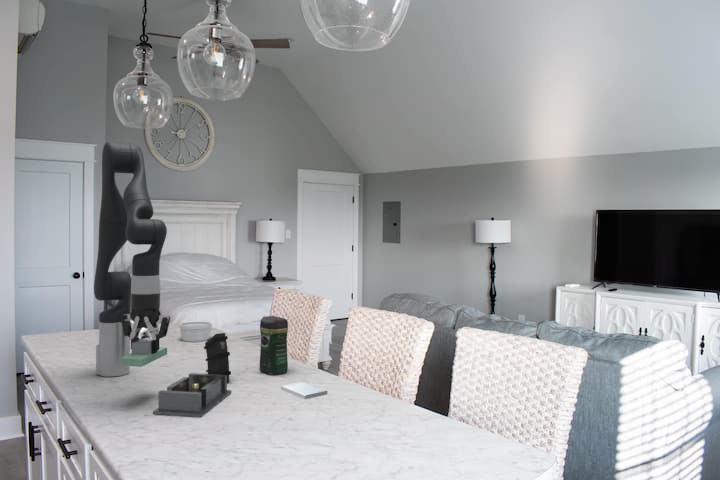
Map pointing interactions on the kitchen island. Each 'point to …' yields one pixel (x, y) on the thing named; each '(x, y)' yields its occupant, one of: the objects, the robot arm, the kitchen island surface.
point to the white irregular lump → (142, 331)
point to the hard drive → (303, 390)
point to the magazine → (218, 355)
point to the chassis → (193, 395)
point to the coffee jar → (273, 345)
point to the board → (142, 354)
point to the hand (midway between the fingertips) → (145, 351)
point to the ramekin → (195, 331)
